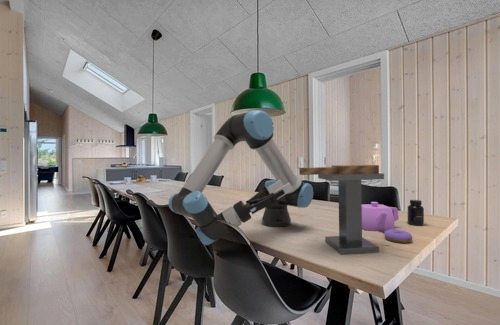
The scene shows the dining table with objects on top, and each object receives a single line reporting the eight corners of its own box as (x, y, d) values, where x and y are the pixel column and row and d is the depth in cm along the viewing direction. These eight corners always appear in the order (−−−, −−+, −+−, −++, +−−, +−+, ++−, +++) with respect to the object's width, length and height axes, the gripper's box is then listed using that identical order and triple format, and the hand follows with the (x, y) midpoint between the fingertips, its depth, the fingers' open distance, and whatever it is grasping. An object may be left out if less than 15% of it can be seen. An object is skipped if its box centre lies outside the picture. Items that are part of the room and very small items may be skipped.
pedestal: (333, 255, 87) (332, 175, 87) (318, 241, 101) (317, 173, 101) (386, 251, 89) (385, 173, 89) (364, 239, 103) (364, 171, 103)
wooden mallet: (304, 175, 88) (304, 167, 88) (297, 174, 97) (297, 166, 97) (378, 173, 91) (378, 165, 91) (365, 172, 100) (364, 164, 100)
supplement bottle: (419, 226, 120) (418, 201, 120) (404, 223, 126) (404, 200, 126) (426, 224, 123) (426, 200, 123) (412, 221, 129) (412, 198, 129)
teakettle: (400, 227, 120) (400, 201, 120) (386, 235, 109) (385, 206, 109) (365, 221, 133) (364, 198, 132) (349, 227, 122) (348, 202, 122)
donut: (381, 240, 101) (382, 228, 102) (386, 239, 108) (386, 227, 109) (410, 245, 95) (410, 232, 95) (413, 243, 102) (414, 231, 102)
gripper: (240, 215, 103) (283, 188, 105) (245, 233, 78) (301, 197, 80) (231, 200, 103) (274, 173, 105) (233, 213, 78) (290, 177, 80)
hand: (286, 183), depth 92 cm, fingers open, 13 cm apart
